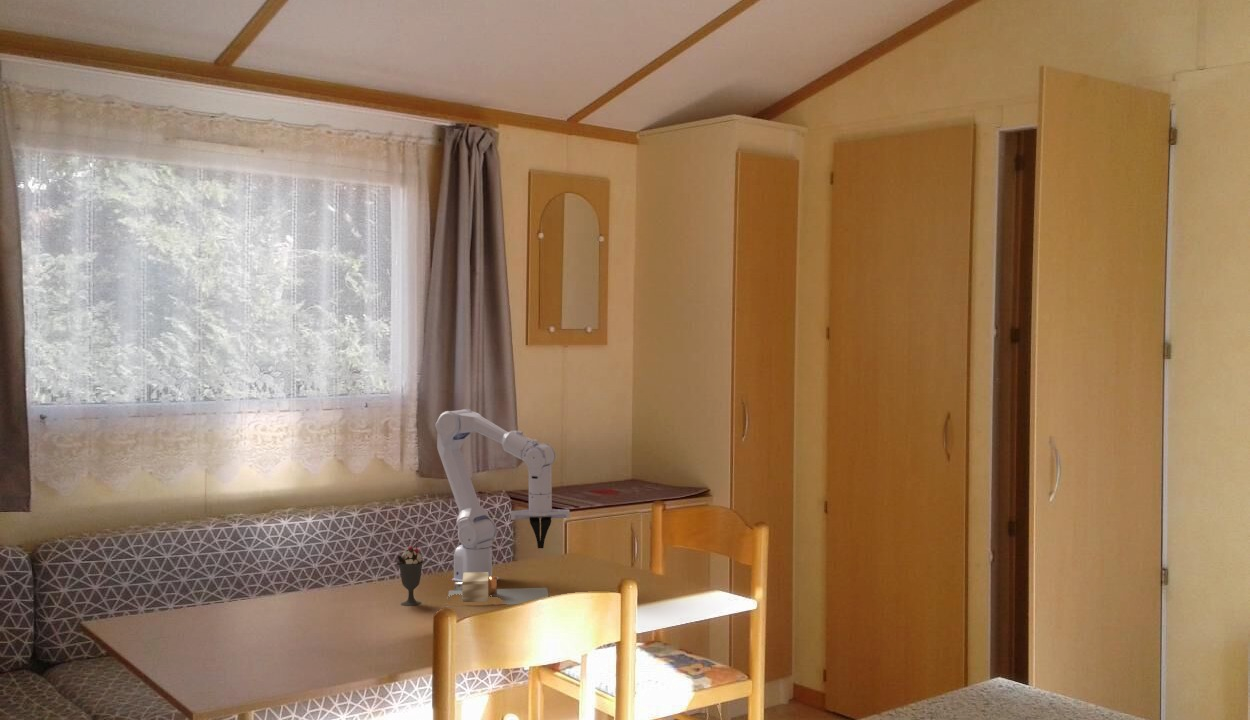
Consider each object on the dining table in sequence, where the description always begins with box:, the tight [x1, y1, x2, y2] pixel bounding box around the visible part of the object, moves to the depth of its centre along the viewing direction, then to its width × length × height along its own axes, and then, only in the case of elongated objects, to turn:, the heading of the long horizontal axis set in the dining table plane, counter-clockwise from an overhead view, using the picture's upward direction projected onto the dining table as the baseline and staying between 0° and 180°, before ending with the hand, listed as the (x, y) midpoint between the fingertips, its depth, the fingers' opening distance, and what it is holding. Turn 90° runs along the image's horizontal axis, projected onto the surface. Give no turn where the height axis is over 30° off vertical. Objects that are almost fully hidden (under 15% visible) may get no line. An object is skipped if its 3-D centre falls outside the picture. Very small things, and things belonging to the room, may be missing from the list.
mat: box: [445, 587, 549, 608], centre depth 270 cm, size 24×16×1 cm, turn 96°
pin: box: [453, 575, 498, 595], centre depth 269 cm, size 10×4×4 cm, turn 96°
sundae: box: [395, 539, 426, 607], centre depth 264 cm, size 7×7×15 cm
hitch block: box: [462, 572, 489, 602], centre depth 269 cm, size 6×10×5 cm, turn 6°
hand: (540, 547), depth 280 cm, fingers closed
